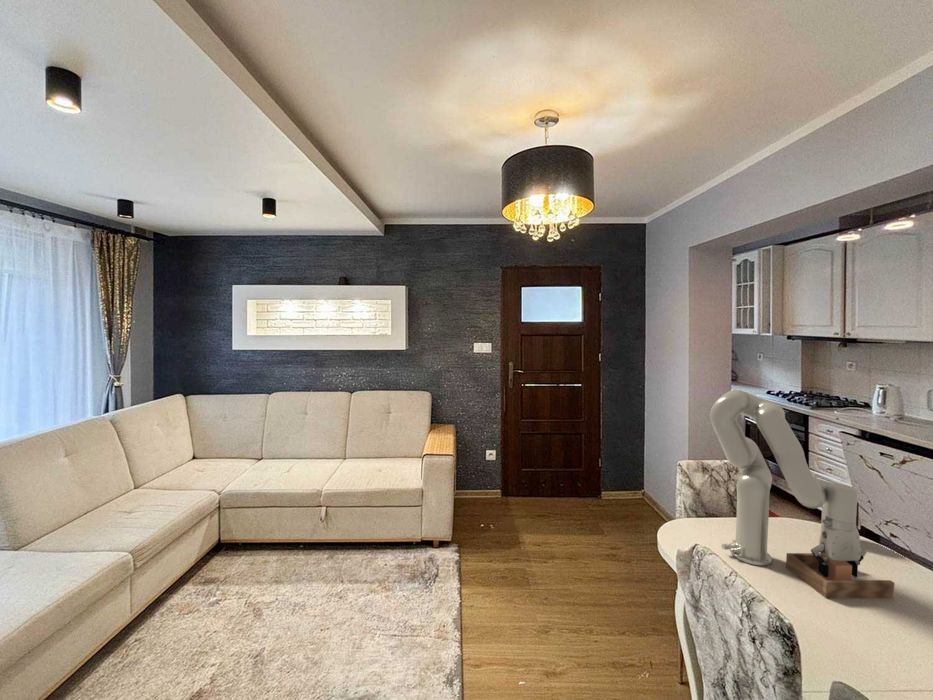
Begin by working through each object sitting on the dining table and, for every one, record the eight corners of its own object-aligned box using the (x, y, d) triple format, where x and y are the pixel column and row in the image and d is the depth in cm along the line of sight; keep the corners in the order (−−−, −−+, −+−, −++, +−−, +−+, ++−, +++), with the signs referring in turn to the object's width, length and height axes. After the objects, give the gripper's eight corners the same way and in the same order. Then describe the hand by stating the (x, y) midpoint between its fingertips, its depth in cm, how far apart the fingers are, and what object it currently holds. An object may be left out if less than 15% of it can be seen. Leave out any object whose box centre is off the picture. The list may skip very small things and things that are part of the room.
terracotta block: (835, 586, 136) (836, 565, 135) (822, 577, 141) (823, 557, 140) (850, 586, 136) (852, 565, 135) (837, 577, 141) (838, 557, 140)
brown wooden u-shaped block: (825, 598, 130) (826, 582, 130) (785, 567, 146) (786, 553, 146) (893, 598, 130) (894, 582, 129) (845, 567, 146) (846, 553, 146)
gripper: (822, 528, 133) (820, 581, 134) (878, 528, 133) (875, 581, 134) (803, 517, 140) (801, 568, 142) (856, 517, 140) (853, 567, 141)
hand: (837, 574), depth 138 cm, fingers open, 8 cm apart
